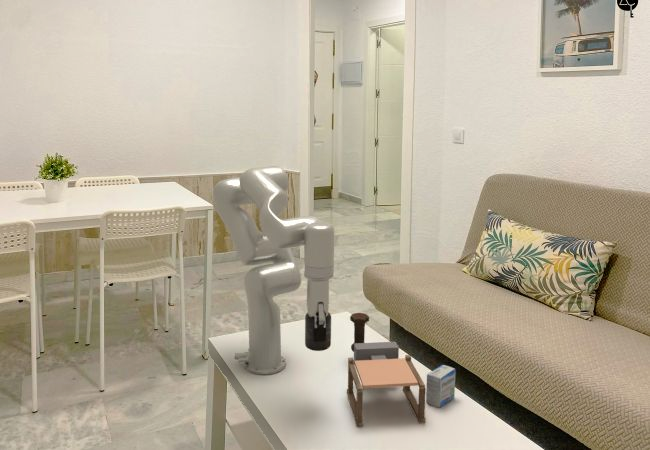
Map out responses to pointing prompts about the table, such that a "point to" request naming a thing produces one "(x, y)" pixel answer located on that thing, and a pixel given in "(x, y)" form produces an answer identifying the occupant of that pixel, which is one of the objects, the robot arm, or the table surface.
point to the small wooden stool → (417, 408)
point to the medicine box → (440, 385)
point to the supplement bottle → (309, 333)
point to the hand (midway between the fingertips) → (318, 334)
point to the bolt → (359, 327)
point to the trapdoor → (382, 365)
